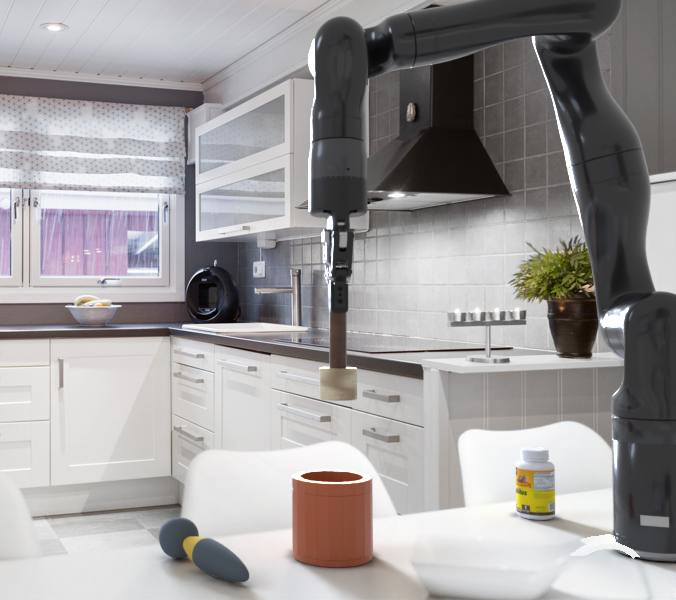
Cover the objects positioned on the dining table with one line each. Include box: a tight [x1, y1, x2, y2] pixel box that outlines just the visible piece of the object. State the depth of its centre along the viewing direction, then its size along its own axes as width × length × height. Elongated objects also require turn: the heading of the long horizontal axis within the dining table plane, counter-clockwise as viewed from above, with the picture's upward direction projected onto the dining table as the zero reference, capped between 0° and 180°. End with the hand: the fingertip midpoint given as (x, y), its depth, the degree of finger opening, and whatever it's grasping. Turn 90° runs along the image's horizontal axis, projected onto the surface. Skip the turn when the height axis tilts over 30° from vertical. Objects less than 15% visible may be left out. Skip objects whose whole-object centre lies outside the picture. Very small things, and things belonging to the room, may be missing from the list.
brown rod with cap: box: [318, 274, 358, 402], centre depth 106 cm, size 5×5×16 cm
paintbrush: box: [158, 517, 250, 584], centre depth 100 cm, size 20×5×5 cm, turn 38°
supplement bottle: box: [515, 446, 556, 521], centre depth 126 cm, size 6×6×10 cm
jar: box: [291, 469, 374, 568], centre depth 105 cm, size 10×10×10 cm
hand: (338, 312), depth 106 cm, fingers closed on brown rod with cap
